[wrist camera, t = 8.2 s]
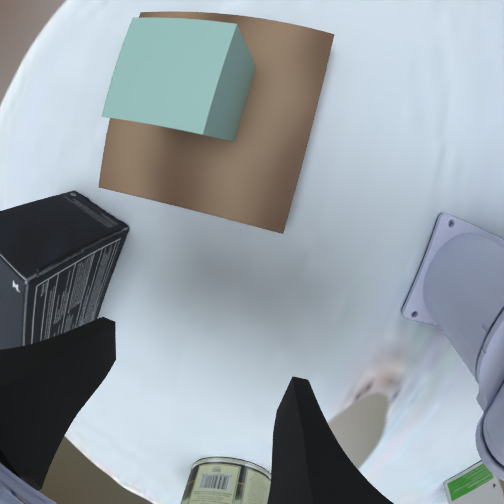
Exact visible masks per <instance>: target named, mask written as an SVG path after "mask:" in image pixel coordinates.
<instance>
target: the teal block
mask: <svg viewBox="0 0 504 504" xmlns="http://www.w3.org/2000/svg"><path fill="white" fill-rule="evenodd" d="M255 68H256V66H255V63H254V61H253V59H252V56H251V54H250V52H249V50H248V47H247V45H246V43H245V40H244V38H243V36H242V34H241V32H240V29H239V27H238V25H237V24H233V23H226V22H218V21H209V20H198V19H183V18H133V19H132V21H131V24H130V26H129V29H128V32H127V34H126V37H125V40H124V42H123V45H122V48H121V51H120V54H119V57H118V60H117V63H116V66H115V70H114V73H113V76H112V80H111V83H110V86H109V90H108V94H107V97H106V101H105V105H104V109H103V113H102V117H108V118H115V119H122V120H128V121H135V122H141V123H147V124H152V125H158V126H163V127H168V128H173V129H178V130H183V131H188V132H193V133H197V134H202V135H206V136H211V137H215V138H220V139H224V140H228V141H232V142H234V139H235V136H236V132H237V129H238V125H239V122H240V118H241V115H242V111H243V108H244V104H245V101H246V98H247V94H248V91H249V88H250V84H251V81H252V78H253V75H254V71H255Z"/></svg>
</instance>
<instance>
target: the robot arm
mask: <svg viewBox="0 0 504 504" xmlns="http://www.w3.org/2000/svg"><path fill="white" fill-rule="evenodd" d="M450 220H452V224H451V225H450V226H449V225H448V222H449V221H450ZM414 311H416V313H415V314H414V315H412V313H413V312H414ZM402 315H403V317H404V318H406V319H410V320H414V321H418V322H423V323H427V324H431V325H436V326H439V327H440V328H441V329H442V331H443V332H444V333H445V335H446V336H447V338H448V339H449V340H450V342H451V343H452V345H453V346H454V348H455V349H456V351H457V352H458V353H459V355H460V356H461V358H462V359H463V361H464V362H465V364H466V365H467V367H468V368H469V370H470V372H471V373H472V375H473V376H474V378H475V379H476V381H477V382H478V384H479V393H478V396H477V398H476V399H477V401H478V403H479V405H480V406H481V408H482V410H483V412H484V413H483V415H482V417H481V419H480V420H479V423H478V426H477V429H476V446H477V451H478V453H479V456H480V458H481V460H482V461H483V463H484V465H485V466H486V467H487V468H488V470H489V471H490V472H491V473H493V474H494V475H495V476H496V477H498V478H499V479H501V480H503V481H504V240H503V239H501V238H499V237H497V236H495V235H493V234H491V233H489V232H487V231H485V230H482V229H480V228H478V227H476V226H474V225H472V224H469V223H467V222H465V221H463V220H460V219H458V218H456V217H453V216H451V215H449V214H446V213H442V214H441V215H440V216H439V217H438V220H437V223H436V226H435V229H434V232H433V235H432V238H431V241H430V243H429V246H428V249H427V252H426V254H425V257H424V259H423V262H422V265H421V267H420V270H419V272H418V275H417V277H416V279H415V282H414V284H413V286H412V289H411V291H410V293H409V296H408V298H407V300H406V302H405V305H404V307H403V309H402ZM115 360H116V343H115V322H114V321H112V320H109V319H107V318H104V317H101V318H99V319H96V320H94V321H91V322H89V323H86V324H84V325H82V326H79V327H77V328H74V329H72V330H70V331H67V332H65V333H62V334H60V335H57V336H54V337H51V338H48V339H45V340H42V341H39V342H36V343H32V344H29V345H24V346H20V347H15V348H8V349H2V350H0V504H23V503H22V502H21V501H19V500H18V499H17V497H16V496H18V497H19V498H20V499H22V500H23V501H25V502H26V503H27V504H57V503H55V502H54V501H52V500H50V499H49V498H47V497H46V496H44V495H43V494H41V493H40V492H38V491H37V490H40V489H42V486H43V483H44V480H45V477H46V474H47V472H48V469H49V466H50V464H51V462H52V460H53V458H54V455H55V453H56V451H57V449H58V447H59V445H60V443H61V441H62V439H63V437H64V435H65V433H66V432H67V430H68V428H69V426H70V425H71V423H72V421H73V419H74V418H75V417H76V415H77V414H78V412H79V411H80V410H81V408H82V407H83V406H84V405H85V403H86V402H87V401H88V399H89V398H90V397H91V396H92V394H93V393H94V392H95V391H96V389H97V388H98V387H99V385H100V384H101V383H102V381H103V380H104V379H105V377H106V376H107V374H108V372H109V371H110V369H111V367H112V365H113V364H114V362H115ZM267 504H393V503H392V502H391V501H390V500H388V499H387V498H386V497H384V496H383V495H382V494H381V493H380V492H379V491H378V490H377V489H376V488H375V487H373V486H372V485H371V484H370V483H369V482H368V481H367V479H366V478H365V477H364V476H363V475H362V474H361V473H360V472H359V470H358V469H357V468H356V467H355V466H354V465H353V463H352V462H351V461H350V459H349V458H348V457H347V455H346V454H345V452H344V451H343V449H342V448H341V446H340V445H339V443H338V441H337V440H336V438H335V436H334V435H333V433H332V431H331V429H330V428H329V425H328V423H327V421H326V419H325V417H324V415H323V413H322V411H321V409H320V407H319V404H318V402H317V400H316V398H315V395H314V393H313V390H312V388H311V385H310V383H309V381H308V380H307V379H302V378H297V377H292V379H291V381H290V383H289V386H288V388H287V390H286V392H285V394H284V396H283V399H282V401H281V403H280V405H279V407H278V409H277V413H276V419H275V425H274V431H273V449H272V471H271V484H270V491H269V497H268V502H267Z"/></svg>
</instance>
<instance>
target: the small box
mask: <svg viewBox="0 0 504 504" xmlns="http://www.w3.org/2000/svg"><path fill="white" fill-rule="evenodd" d="M128 230H129V229H128V227H127V226H126V225H125V224H123V222H121V221H119V220H116V219H115V218H114V217H113V216H110V215H109V214H107V213H106V212H105V211H103V210H101V209H100V208H99V207H97V206H96V205H94V204H93V203H91V202H90V201H89V200H88V199H87V198H85V197H83V196H82V195H80V194H78V193H77V192H75V191H71V192H68V193H63V194H60V195H56V196H52V197H48V198H44V199H41V200H37V201H34V202H30V203H27V204H23V205H20V206H16V207H13V208H9V209H6V210H3V211H0V350H2V349H8V348H15V347H20V346H24V345H29V344H32V343H36V342H39V341H42V340H45V339H48V338H51V337H54V336H57V335H60V334H62V333H65V332H67V331H70V330H72V329H74V328H77V327H79V326H82V325H84V324H86V323H89V322H91V321H94V320H96V319H97V316H98V314H99V310H100V307H101V304H102V301H103V298H104V295H105V292H106V289H107V286H108V283H109V280H110V278H111V275H112V272H113V269H114V266H115V264H116V261H117V258H118V256H119V253H120V250H121V248H122V245H123V242H124V240H125V237H126V234H127V232H128Z"/></svg>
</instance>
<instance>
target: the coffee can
mask: <svg viewBox="0 0 504 504" xmlns="http://www.w3.org/2000/svg"><path fill="white" fill-rule="evenodd" d="M270 484H271V474H270V473H269V472H268V471H266V470H265V469H264V468H262V467H259V466H257V465H255V464H253V463H250V462H246V461H243V460H238V459H233V458H222V457H213V458H206V459H201V460H199V461H197V462H195V463H194V464H193V465H192V468H191V473H190V476H189V479H188V482H187V485H186V489H185V491H184V494H183V498H182V501H181V504H267V502H268V497H269V491H270Z"/></svg>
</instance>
